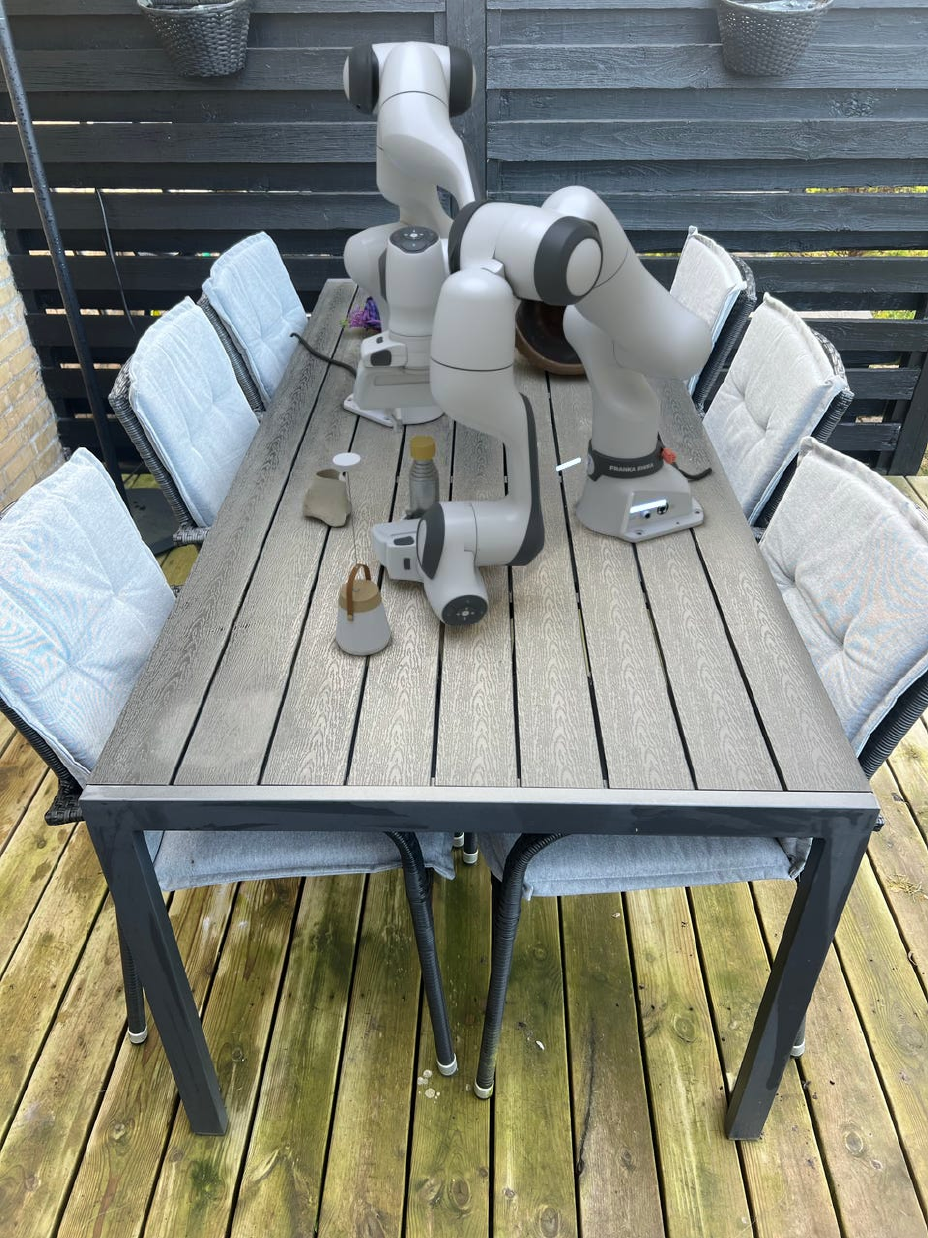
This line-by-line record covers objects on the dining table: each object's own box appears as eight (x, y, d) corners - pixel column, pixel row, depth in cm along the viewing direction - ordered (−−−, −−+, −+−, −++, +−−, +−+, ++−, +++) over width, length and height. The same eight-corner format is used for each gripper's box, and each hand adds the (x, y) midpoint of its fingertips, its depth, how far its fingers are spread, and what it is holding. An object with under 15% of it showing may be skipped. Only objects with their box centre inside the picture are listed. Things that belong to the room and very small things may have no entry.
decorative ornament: (459, 312, 230) (337, 314, 227) (457, 347, 238) (340, 349, 236) (454, 280, 238) (336, 281, 235) (453, 315, 246) (339, 317, 244)
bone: (352, 523, 169) (358, 468, 167) (345, 530, 162) (351, 474, 159) (303, 516, 169) (308, 461, 167) (294, 523, 162) (299, 466, 159)
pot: (527, 218, 229) (547, 194, 200) (639, 277, 234) (675, 262, 205) (471, 342, 235) (483, 336, 206) (582, 397, 240) (609, 398, 211)
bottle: (446, 539, 161) (444, 441, 150) (429, 553, 158) (425, 453, 146) (423, 531, 163) (419, 433, 152) (406, 544, 160) (400, 445, 149)
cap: (440, 453, 151) (440, 439, 149) (425, 462, 148) (424, 449, 147) (420, 446, 153) (420, 433, 151) (405, 456, 150) (404, 442, 149)
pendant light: (377, 661, 135) (361, 478, 117) (326, 649, 137) (303, 468, 119) (399, 628, 141) (388, 450, 123) (351, 617, 143) (332, 440, 125)
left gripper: (484, 334, 143) (485, 417, 151) (351, 341, 141) (359, 425, 149) (490, 348, 138) (490, 434, 146) (352, 357, 136) (360, 443, 144)
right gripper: (505, 529, 147) (483, 487, 158) (377, 546, 143) (363, 502, 154) (504, 562, 151) (483, 519, 162) (380, 580, 147) (366, 534, 158)
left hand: (423, 430), depth 148 cm, fingers open, 6 cm apart
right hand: (423, 511), depth 158 cm, fingers closed on bottle, 5 cm apart
